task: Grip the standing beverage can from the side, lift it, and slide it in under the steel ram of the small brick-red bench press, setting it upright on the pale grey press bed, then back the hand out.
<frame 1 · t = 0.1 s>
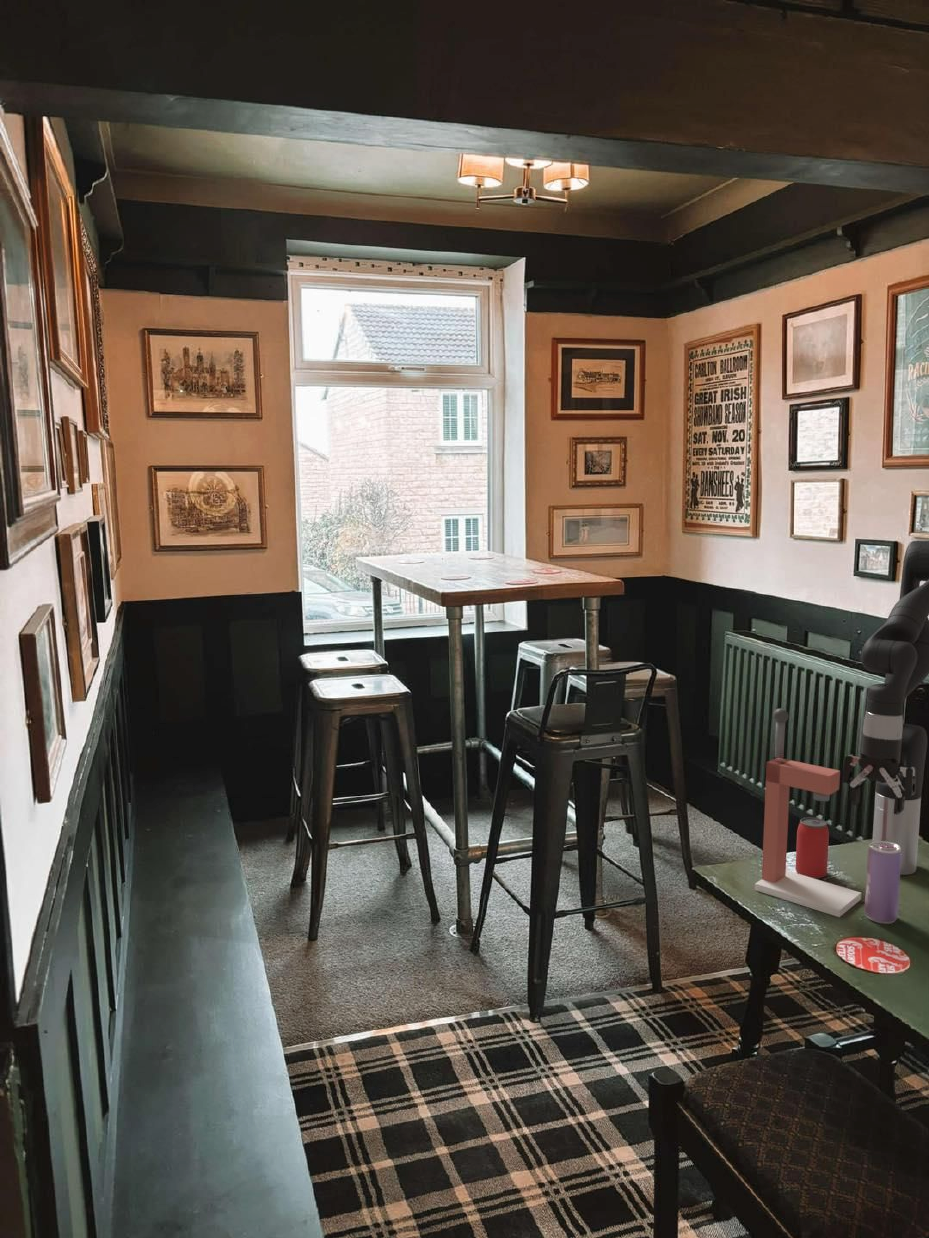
hand: (875, 808, 192), 17 cm above the table, tool pointing down, fingers open, 8 cm apart
bench press: (816, 897, 189), on the table
beverage can: (880, 918, 180), on the table
beer can: (810, 874, 201), on the table
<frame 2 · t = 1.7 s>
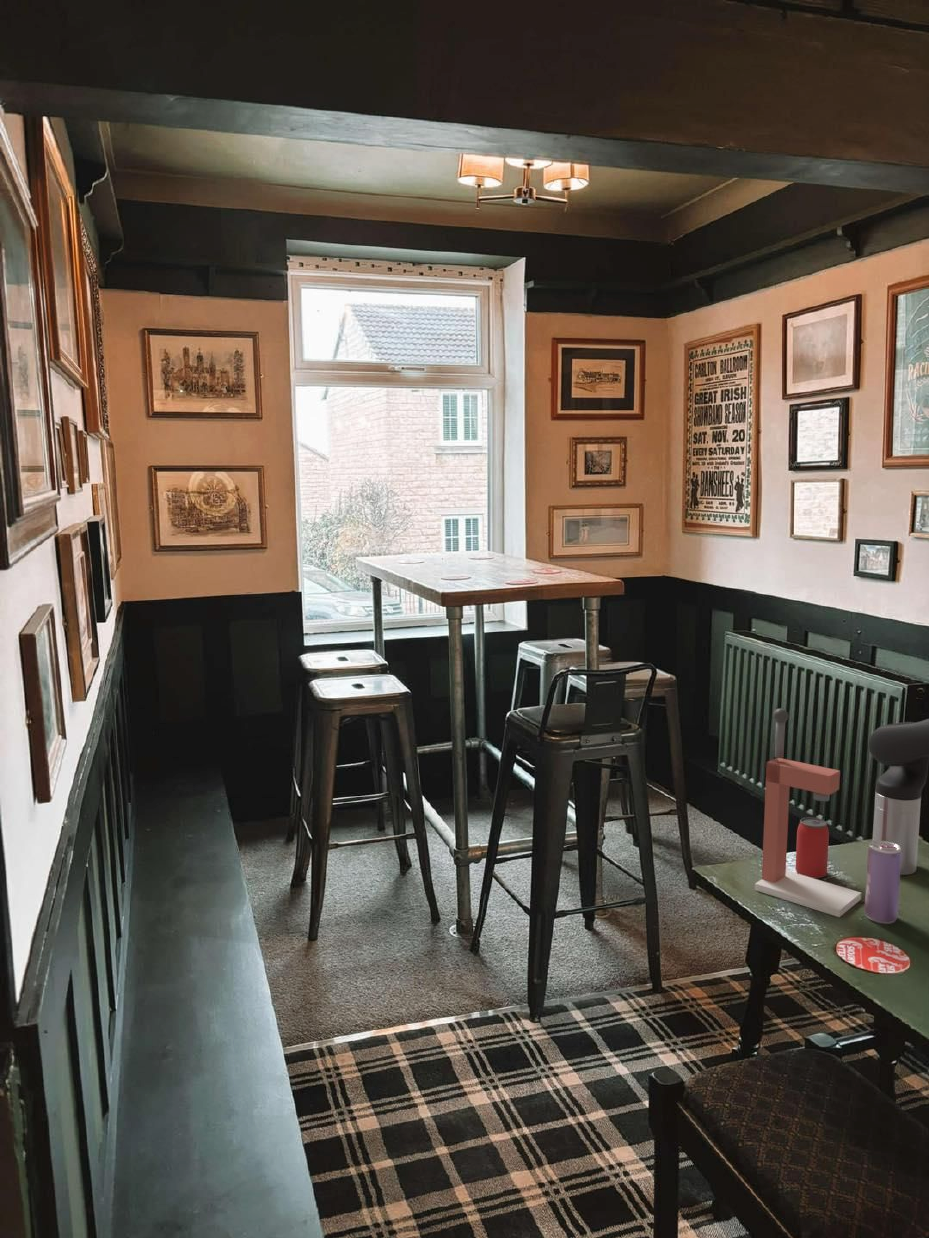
nothing on the table moved.
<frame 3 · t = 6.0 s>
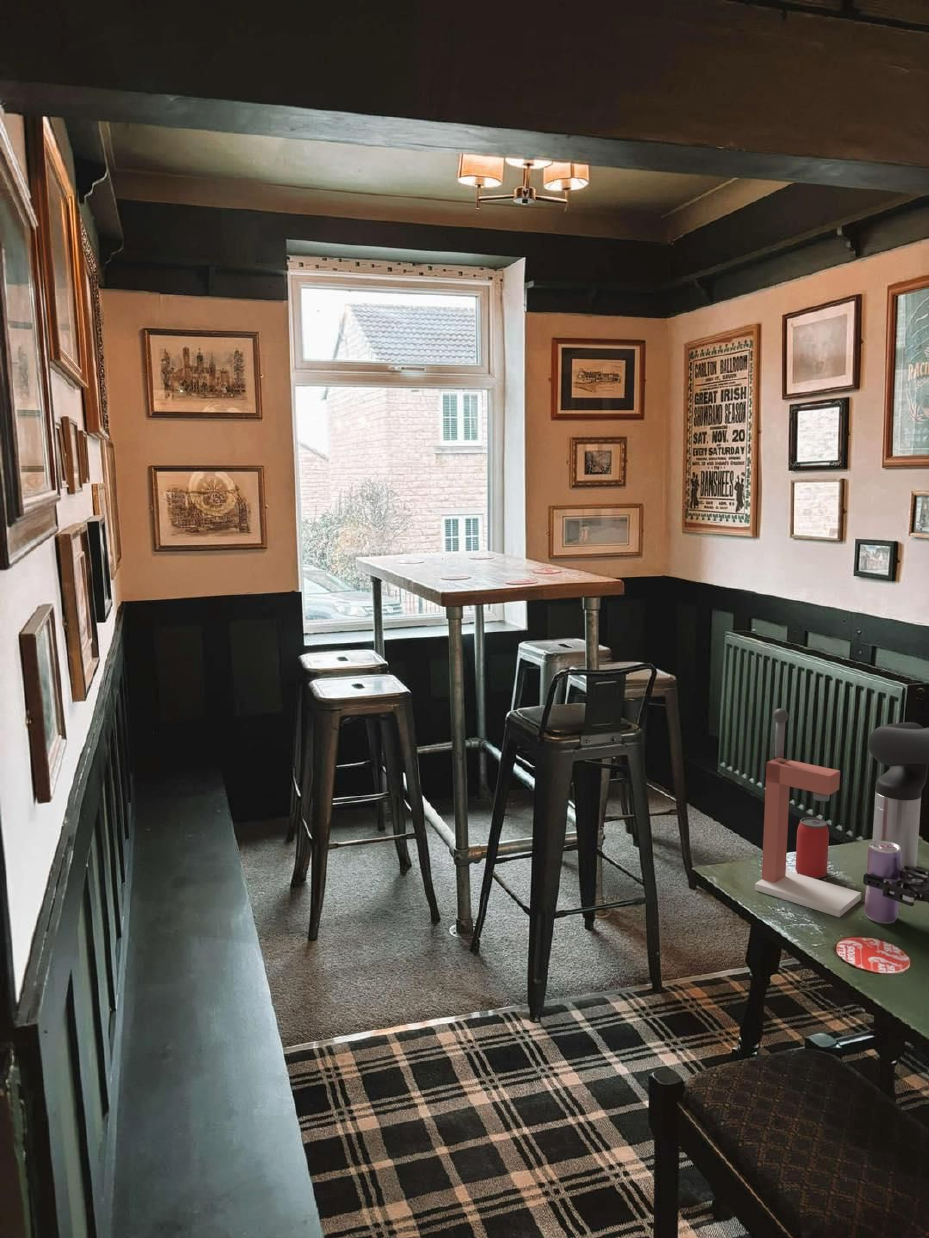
hand: (870, 873, 181), 9 cm above the table, tool horizontal, fingers closed on beverage can, 6 cm apart
beverage can: (880, 918, 180), on the table, touching gripper
everything else where it was.
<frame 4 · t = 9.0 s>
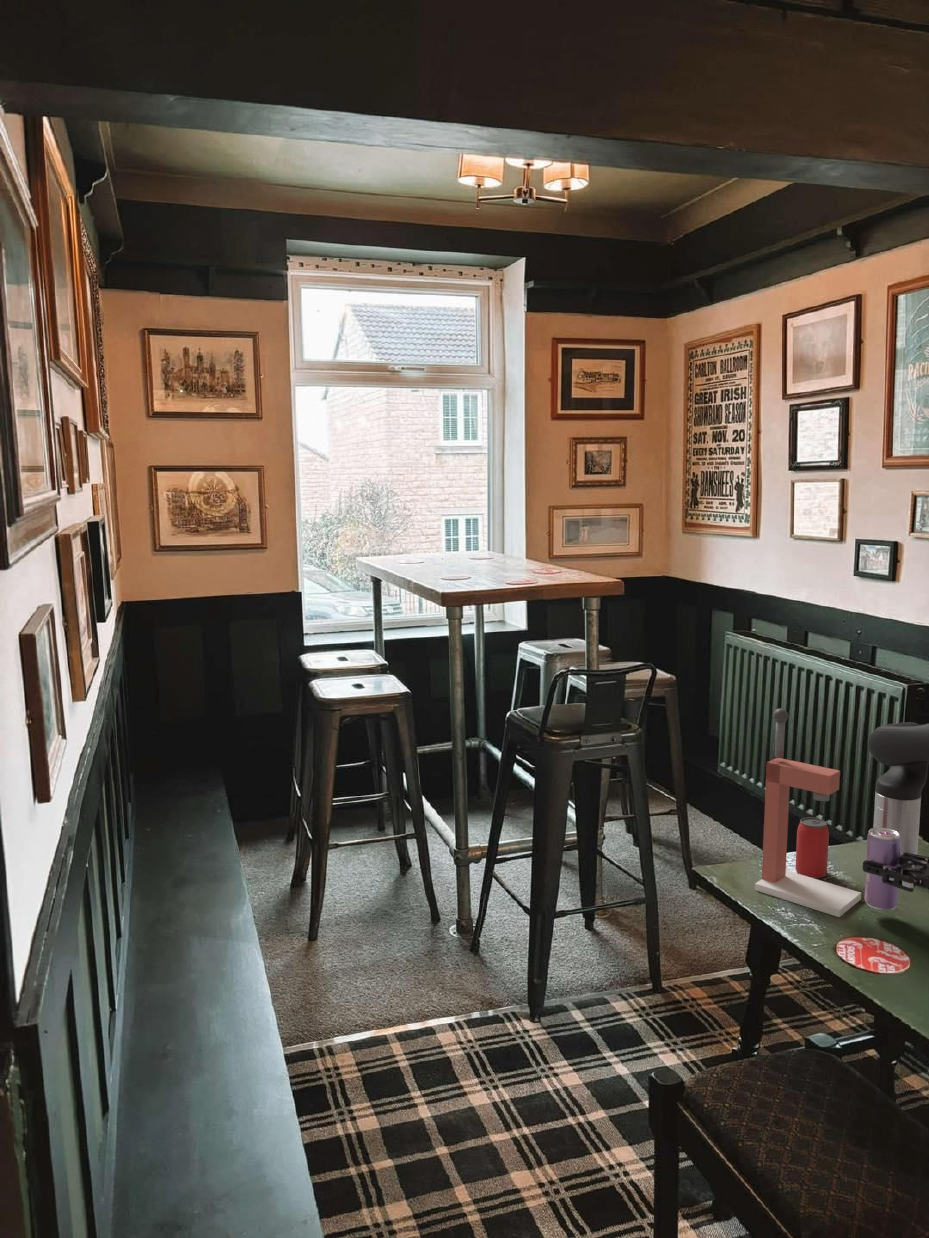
hand: (870, 860, 181), 11 cm above the table, tool horizontal, fingers closed on beverage can, 6 cm apart
beverage can: (880, 905, 180), point 2 cm above the table, touching gripper
everything else where it was.
when the fingers open (11 cm above the table, at t = 12.4 s): beverage can drops 1 cm, resting on bench press.
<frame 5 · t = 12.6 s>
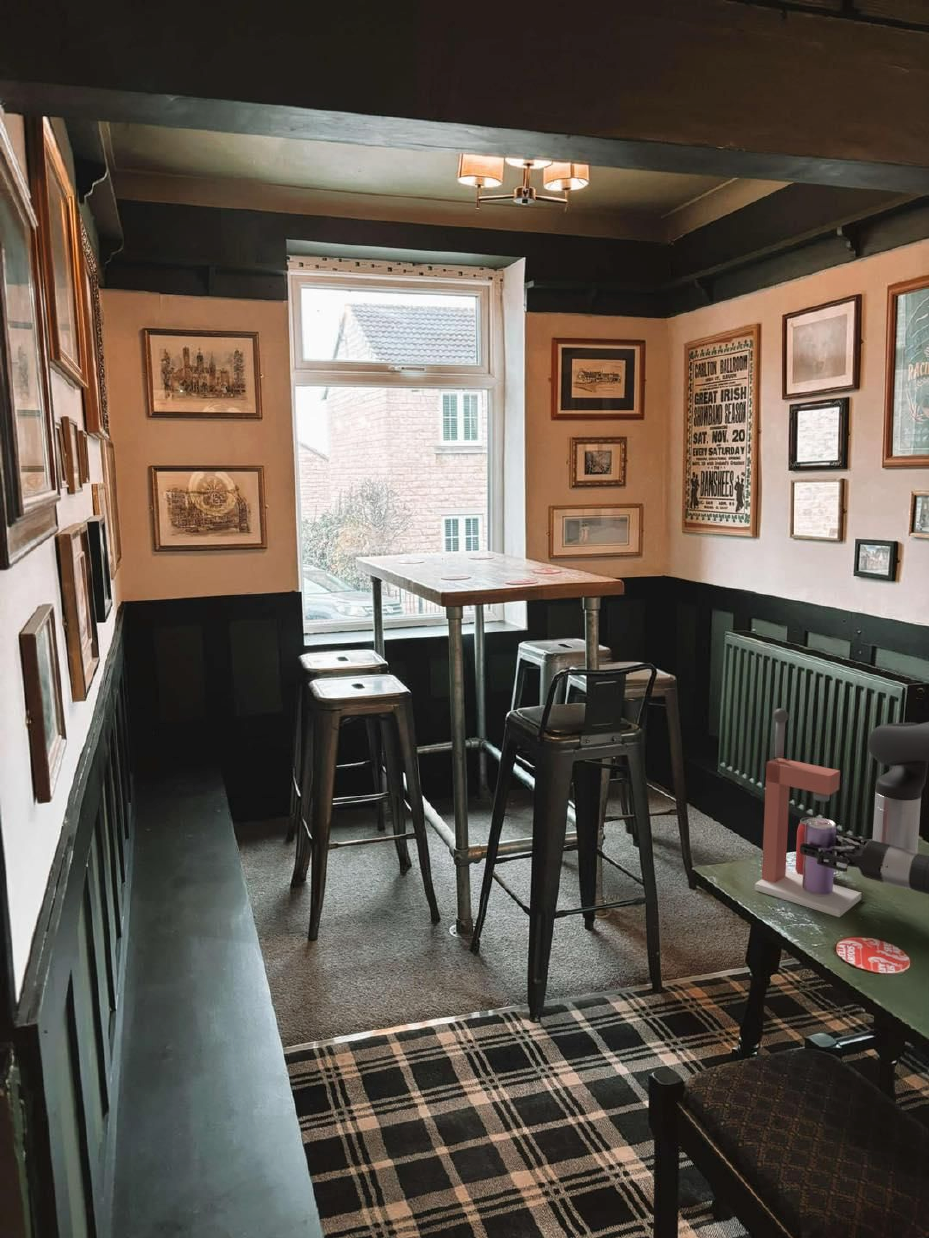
hand: (809, 842, 189), 11 cm above the table, tool horizontal, fingers open, 7 cm apart
beverage can: (817, 891, 189), point 1 cm above the table, touching bench press
everything else where it was.
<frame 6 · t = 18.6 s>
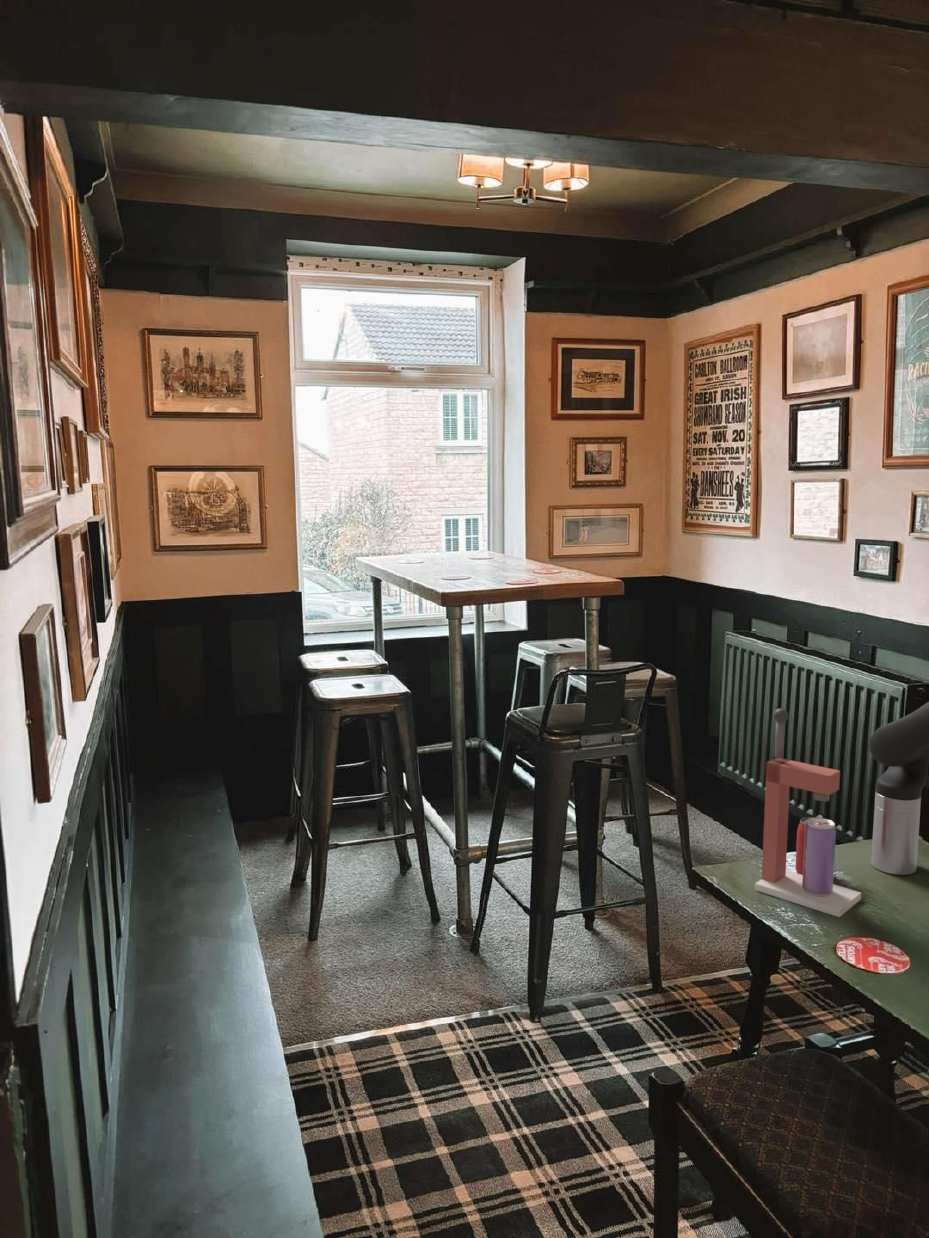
nothing on the table moved.
at the end: beverage can 0.1 cm off-centre on the bench press, point 1.3 cm above the bench press's base; beverage can tilted 0°; the gripper is holding nothing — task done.
